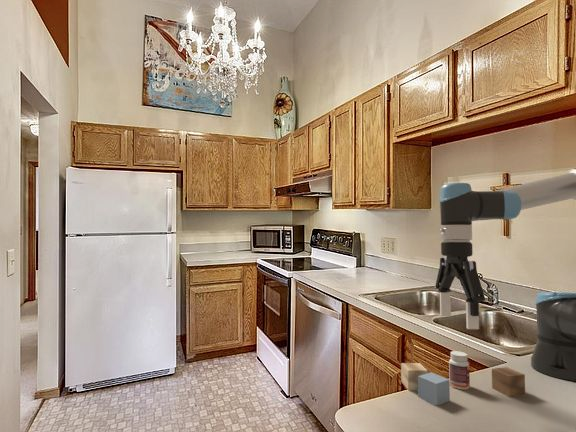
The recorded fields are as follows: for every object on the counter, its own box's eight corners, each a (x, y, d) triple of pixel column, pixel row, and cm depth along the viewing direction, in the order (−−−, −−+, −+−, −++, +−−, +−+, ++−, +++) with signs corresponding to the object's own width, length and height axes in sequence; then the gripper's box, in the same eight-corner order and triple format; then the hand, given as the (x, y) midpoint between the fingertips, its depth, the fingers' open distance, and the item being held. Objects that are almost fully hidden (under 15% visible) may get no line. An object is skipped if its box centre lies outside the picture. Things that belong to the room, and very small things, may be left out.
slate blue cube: (431, 392, 86) (431, 372, 87) (449, 400, 82) (449, 379, 82) (418, 397, 84) (418, 376, 84) (436, 406, 79) (436, 383, 80)
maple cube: (419, 382, 92) (419, 363, 93) (427, 390, 87) (427, 370, 88) (401, 382, 92) (401, 363, 92) (408, 390, 87) (408, 370, 87)
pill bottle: (472, 391, 87) (471, 357, 88) (452, 389, 88) (451, 355, 89) (466, 383, 92) (466, 351, 92) (447, 381, 93) (447, 349, 93)
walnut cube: (507, 386, 90) (506, 367, 91) (525, 395, 86) (524, 374, 86) (492, 388, 89) (491, 368, 89) (509, 397, 84) (509, 376, 85)
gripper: (422, 240, 104) (423, 311, 103) (468, 242, 79) (470, 335, 78) (447, 240, 105) (448, 311, 103) (500, 242, 80) (503, 335, 78)
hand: (458, 322), depth 91 cm, fingers open, 13 cm apart
